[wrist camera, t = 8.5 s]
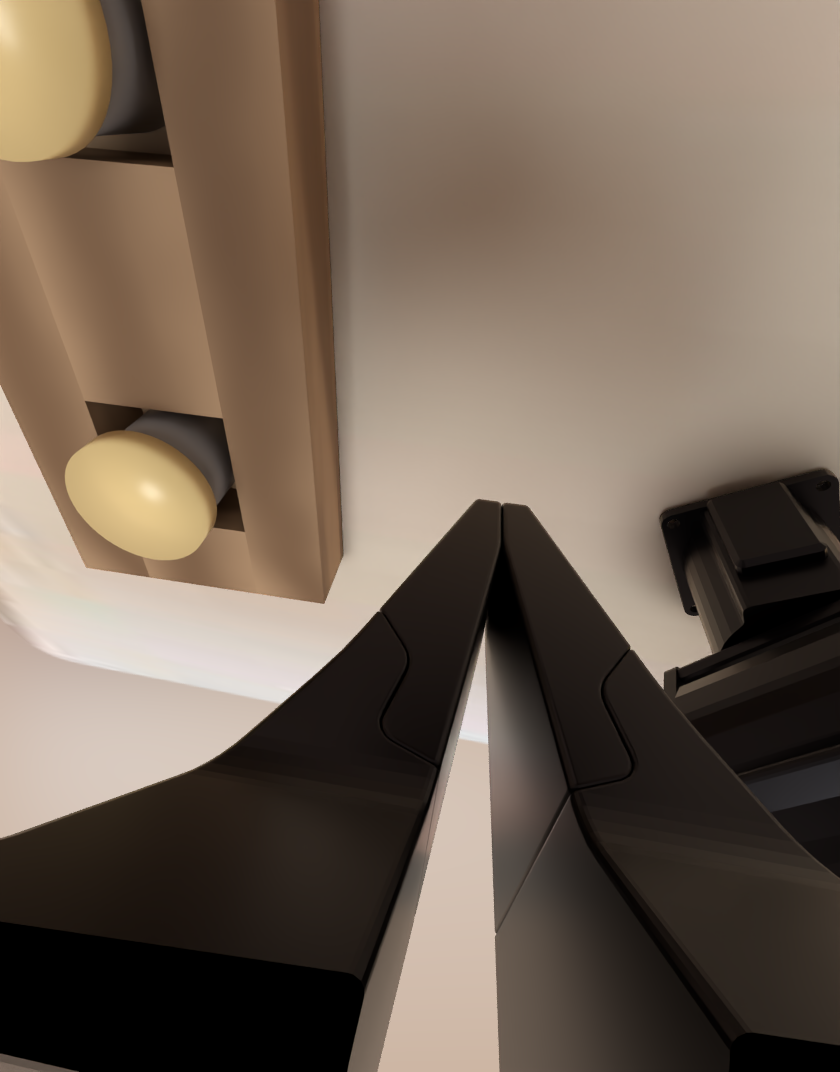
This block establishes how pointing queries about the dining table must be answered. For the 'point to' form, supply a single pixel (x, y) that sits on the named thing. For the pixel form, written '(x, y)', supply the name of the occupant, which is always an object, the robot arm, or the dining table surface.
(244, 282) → the socket block
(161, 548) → the inner button
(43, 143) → the outer button
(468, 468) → the dining table surface
